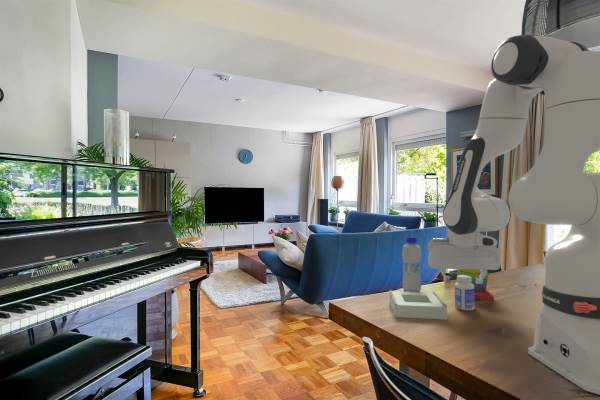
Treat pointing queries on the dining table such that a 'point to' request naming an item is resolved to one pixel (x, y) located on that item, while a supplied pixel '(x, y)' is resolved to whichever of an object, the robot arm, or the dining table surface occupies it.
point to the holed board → (417, 305)
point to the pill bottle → (464, 293)
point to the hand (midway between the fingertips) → (462, 283)
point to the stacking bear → (478, 288)
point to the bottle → (411, 266)
